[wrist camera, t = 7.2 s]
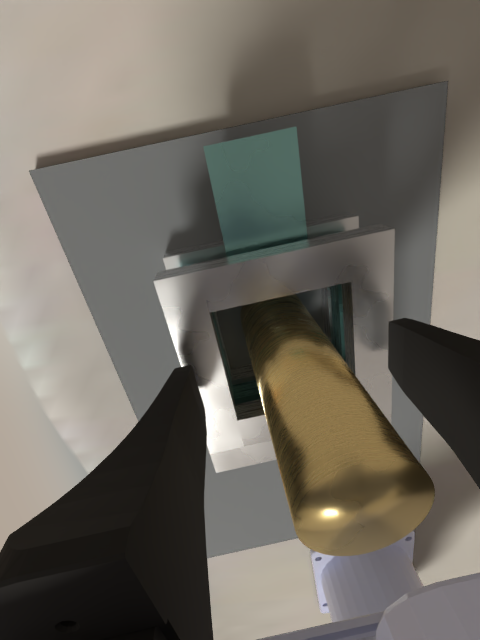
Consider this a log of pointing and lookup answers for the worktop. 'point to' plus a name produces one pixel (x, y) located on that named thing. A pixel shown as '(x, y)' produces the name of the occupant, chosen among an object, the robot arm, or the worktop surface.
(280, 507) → the mat
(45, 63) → the worktop surface
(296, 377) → the pin
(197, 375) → the grey teal hollow block
